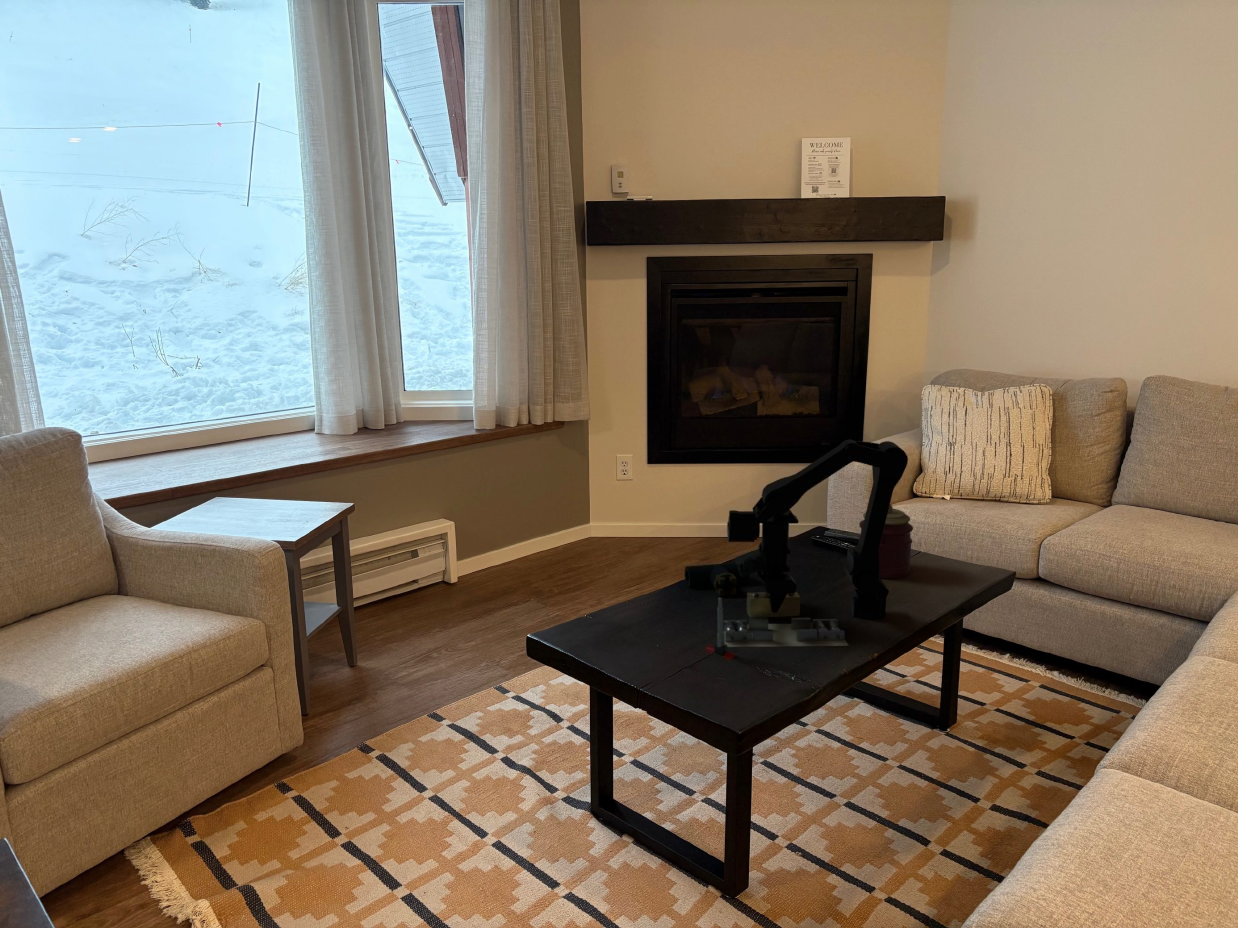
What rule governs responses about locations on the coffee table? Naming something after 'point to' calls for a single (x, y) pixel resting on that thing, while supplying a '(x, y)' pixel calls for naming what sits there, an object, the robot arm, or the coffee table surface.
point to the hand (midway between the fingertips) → (773, 608)
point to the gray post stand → (720, 635)
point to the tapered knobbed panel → (762, 606)
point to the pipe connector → (715, 577)
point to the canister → (894, 544)
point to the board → (783, 639)
